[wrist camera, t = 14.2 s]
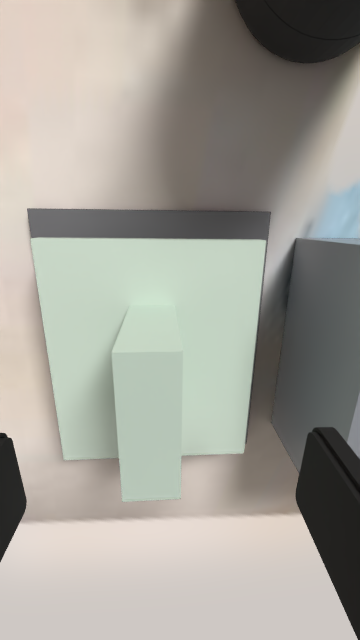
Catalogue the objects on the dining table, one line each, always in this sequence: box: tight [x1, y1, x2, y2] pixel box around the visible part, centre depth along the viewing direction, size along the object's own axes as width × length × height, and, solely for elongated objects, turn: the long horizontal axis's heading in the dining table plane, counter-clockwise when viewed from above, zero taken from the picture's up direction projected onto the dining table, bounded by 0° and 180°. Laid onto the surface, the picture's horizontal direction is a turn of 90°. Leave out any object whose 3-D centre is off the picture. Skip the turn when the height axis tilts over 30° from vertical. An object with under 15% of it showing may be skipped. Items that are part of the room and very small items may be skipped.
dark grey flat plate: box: [27, 209, 271, 444], centre depth 19 cm, size 14×17×1 cm
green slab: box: [30, 237, 266, 502], centre depth 15 cm, size 12×14×8 cm
